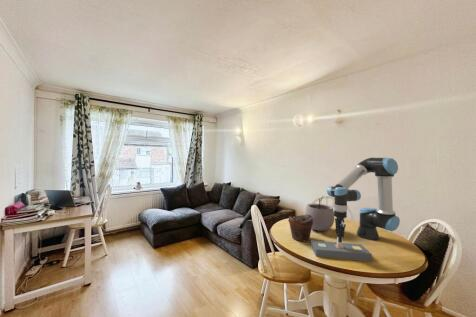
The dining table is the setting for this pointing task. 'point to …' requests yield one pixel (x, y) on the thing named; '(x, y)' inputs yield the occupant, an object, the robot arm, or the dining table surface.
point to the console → (341, 251)
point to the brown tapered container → (301, 227)
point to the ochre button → (356, 248)
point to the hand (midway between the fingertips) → (339, 246)
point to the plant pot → (320, 216)
